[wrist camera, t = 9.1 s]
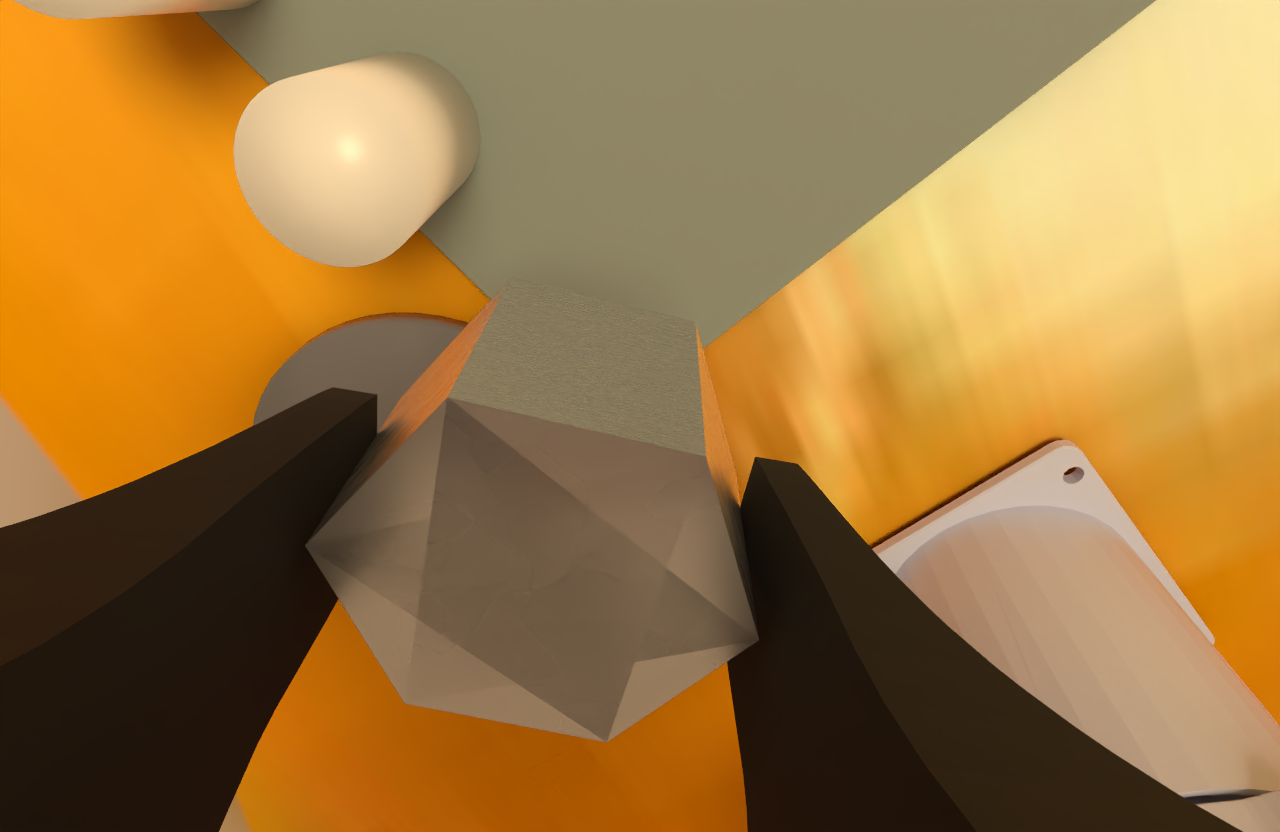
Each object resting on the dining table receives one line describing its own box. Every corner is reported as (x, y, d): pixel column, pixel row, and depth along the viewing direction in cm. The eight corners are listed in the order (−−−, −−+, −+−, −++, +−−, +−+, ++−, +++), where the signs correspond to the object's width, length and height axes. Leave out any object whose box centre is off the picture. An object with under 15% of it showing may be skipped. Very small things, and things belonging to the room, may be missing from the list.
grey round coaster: (661, 481, 21) (661, 494, 20) (445, 635, 24) (440, 649, 24) (408, 237, 18) (401, 245, 17) (196, 451, 21) (184, 463, 20)
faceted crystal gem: (783, 343, 11) (829, 485, 8) (695, 578, 13) (703, 760, 10) (417, 253, 10) (311, 365, 7) (390, 513, 12) (299, 683, 9)
